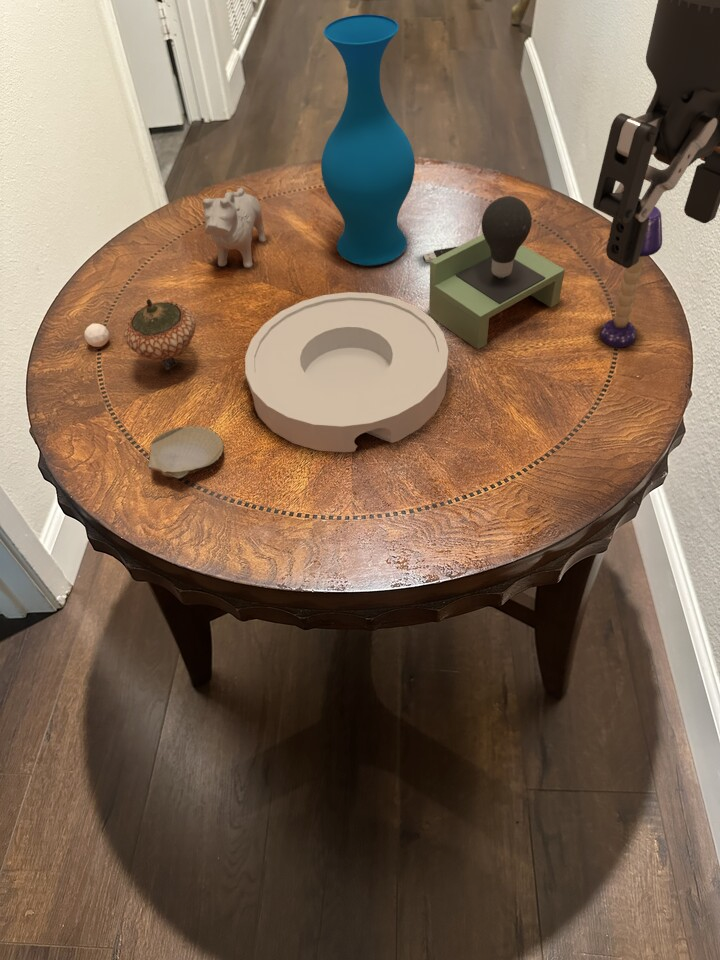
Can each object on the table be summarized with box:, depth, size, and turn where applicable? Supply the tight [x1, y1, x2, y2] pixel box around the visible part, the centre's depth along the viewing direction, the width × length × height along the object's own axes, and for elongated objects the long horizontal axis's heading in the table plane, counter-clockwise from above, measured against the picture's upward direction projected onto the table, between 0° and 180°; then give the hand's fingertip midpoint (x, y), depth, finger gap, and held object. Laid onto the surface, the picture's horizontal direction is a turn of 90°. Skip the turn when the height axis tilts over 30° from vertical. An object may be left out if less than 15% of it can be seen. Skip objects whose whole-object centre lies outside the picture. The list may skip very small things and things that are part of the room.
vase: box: [320, 14, 416, 267], centre depth 94 cm, size 12×13×28 cm
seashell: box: [147, 425, 225, 479], centre depth 80 cm, size 8×3×8 cm
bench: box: [428, 233, 566, 351], centre depth 92 cm, size 14×9×8 cm, turn 127°
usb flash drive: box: [422, 245, 460, 264], centre depth 102 cm, size 8×2×1 cm, turn 102°
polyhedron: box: [83, 322, 110, 348], centre depth 93 cm, size 3×3×3 cm
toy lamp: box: [599, 206, 663, 348], centre depth 83 cm, size 5×5×17 cm
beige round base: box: [244, 291, 449, 453], centre depth 86 cm, size 23×23×4 cm
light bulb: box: [481, 195, 533, 278], centre depth 86 cm, size 6×6×10 cm
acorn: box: [123, 298, 197, 370], centre depth 87 cm, size 8×8×10 cm
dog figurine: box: [202, 187, 267, 269], centre depth 102 cm, size 5×13×11 cm, turn 169°
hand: (660, 239), depth 54 cm, fingers open, 8 cm apart
